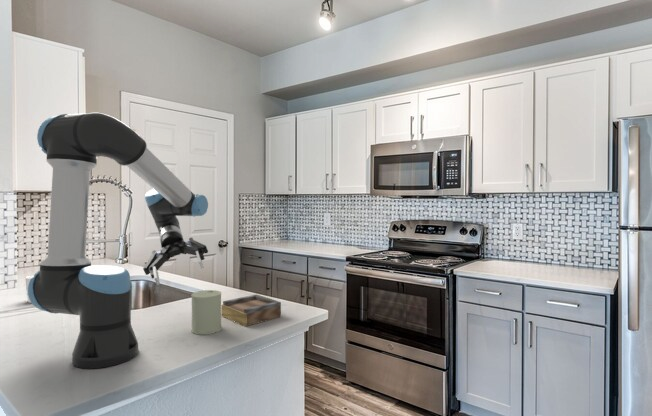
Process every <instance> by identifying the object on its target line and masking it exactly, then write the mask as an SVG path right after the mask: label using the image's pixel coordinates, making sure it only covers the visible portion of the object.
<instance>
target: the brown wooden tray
mask: <svg viewBox="0 0 652 416" xmlns="http://www.w3.org/2000/svg"><path fill="white" fill-rule="evenodd" d="M222 316H223V318H224V317H226V318H225V319H227V318H228V319H227V320H229V319H230V321H231V320H233V321H232V322H234V321H235V322H234V323H236V322H237V324H238V323H239V324H238V325H241V326H243V325H244V327H248V326H247V325H249V326H251V324H253V325H255V324H254V323H256V324H259V323H258V322H260V323H262V322H261V321H264V322H266V321H265V320H267V321H270V320H269V319H271V320H274V319H273V318H275V319H278V318H281V317H282V301H278V300H275V299H272V298H269V297H266V296H262V295H261V294H260V295H259V294H251V295H247V296H242V297H238V298H232V299H226V300H223V301H222V304H221V317H222ZM280 316H281V317H280ZM277 317H278V318H277Z"/></svg>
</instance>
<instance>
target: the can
mask: <svg viewBox="0 0 652 416" xmlns="http://www.w3.org/2000/svg"><path fill="white" fill-rule="evenodd" d="M190 297H191V333H192V334H195V335H199V336H200V335H201V336H202V335H203V336H204V335H213V334H216V333H219V332H220V331H221V330H222V329H223V326H222V291H220V290H213V289H212V290H211V289H208V290H207V289H206V290H198V291H196V292H193V293H191V295H190ZM215 332H216V333H215ZM212 333H213V334H212Z"/></svg>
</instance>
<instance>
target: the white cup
mask: <svg viewBox="0 0 652 416" xmlns="http://www.w3.org/2000/svg"><path fill="white" fill-rule="evenodd" d="M33 277H34V274H33V275H28V276H26V277H25V287H26V289H25V290H26V298H27V303H28V304H32V303H31V301H30V299H29V296H28V285H29V282H30V280H31V278H33Z"/></svg>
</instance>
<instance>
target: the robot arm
mask: <svg viewBox="0 0 652 416" xmlns="http://www.w3.org/2000/svg"><path fill="white" fill-rule="evenodd" d="M40 124H41V125H40V126H39V128H38V130H37V134H36V135H37V136H36V139H37V144H38V147H39V148H41V151H42V152H43V153H44V154H45V155H46V159H45V160H46V161H45V162H46V163H47V164H49V165H50V166H51V168H52V179H51V194H50V195H51V196H50V212H49V213H50V214H49V229H48V243H47V244H48V245H47V256H46V258H45V259H44V260H42V261H41V262H40V264H39V270H38V271H36V273H34V274H33V275H34V277H33V278H31V280H30V282H29V285H28V296H29V299H30V301H31V303H30V304H32V305H33V306H34V307H35V308H37V309H38V310H41V311H44V312H48V313H50V314H64V315H65V314H66V315H73V316H79V333H78V336H77V339H76V342H75V345H74V348H73V350H72V353H71V354H72V355H71V363H72V365H73V366H74V367H77V368H80V369H87V370H88V369H91V370H92V369H101V368H106V367H108V368H109V367H113V366H116V365H120V364H123V363H126V362H128V361H130V360H131V359H133V358H134V357H136V356H137V355H138V353H139V342H138V339H137V336H136V334H135V331H134V329H133V327H132V326H133V325H132V321H131V320H132V316H131V314H132V312H131V311H132V308H131V307H132V282H131V275H130V272H129V271H128V270H127V268H124V267H121V266H118V265H111V264H110V265H108V264H107V265H103V264H98V265H92V261H90V260H89V258H87V256H86V249H87V247H86V246H87V230H88V229H87V228H88V212H89V210H88V209H89V194H90V178H91V177H90V176H91V175H90V174H91V171H92V170H93V169H94V168H96V167H97V160H98V157H104V158H108V159H111V160H113V161H115V162H116V163H117V164H118V165H120V166H124V167H127V168H129V169H130V170H131V171H132V172H134V173H135V174H136V175H137V176H138V177H140V179H142V180H143V181H144V182H145V183H146V184H147V185H149V186H150V187H151V188H152V189H150V190H148V191H147V192H146V193H145V195H144V200H145V202H146V206H147V208H148V209H149V211H150V212H149V213H150V214H151V216H152V219H153V221H154V224H155V227H156V228H157V231H158V233H159V234H158V235H159V241H160V247H161V249H160V250H159V251H157V250H152V252H151V255H150V256H149V258H148V260H147V261H146V263H145V264H144V266H143V267H142V269H143V271H144V275H146V276H149V275H150V277H151V279H154V281H155V283H156V285H157V286H159V285H161V283H160V275H159V271H158V270H159V269H160V268H162V266H163V265H164V264H165V263H167V262H168V261H169V260H171V258H174V257H176V256H179V255H181V254H182V255H187V254H188V255H193V256H196V257H197V261H198V264H199V266H200V269H204V264H203V260H205V255H204V254H208V253H209V250H208V248H207V245H205V244H203V243H201V242H199V241H197V240H194V238H193V237H189V238H188V240H187V241H185V240H184V237H183V234H182V230H181V227H180V221H179V219H178V217H177V216H179V217H192V218H193V217H202V216H204V215H206V213H207V212H208V208H209V202H208V198H207V197H206V196H205V195H204V194H199V193H197V194H194V193H193V192H192V191H191V190H190V188H189V187H187V186H186V185H185V184H184V183H183V181H181V180H180V179H179V178H178V177H177V176H176V175H175V174H174V173H173V172H172V171H171V170H170V169H169V168H168V167H167V166H166V165H165V163H163V162H162V161H161V160H160V159H159V158H158V157H157V156H156V155H155V154H154V153H153V152H152V151H150V149H149V148H148V146H147V144H148V143H147V142H146V140H145V139H143V137H142V136H141V135H139V133H137V132H136V131H135V130H134V129H133V128H131V127H129V125H127V124H126V123H124V122H123V121H121V120H119V119H117V118H115V117H114V116H111V115H108V114H106V113H102V112H89V113H88V112H87V113H72V114H71V113H69V114H68V113H64V114H58V115H54V116H51V117H50V116H49V118H47V119H45V120H44V121H43V122H42V123H40Z"/></svg>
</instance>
